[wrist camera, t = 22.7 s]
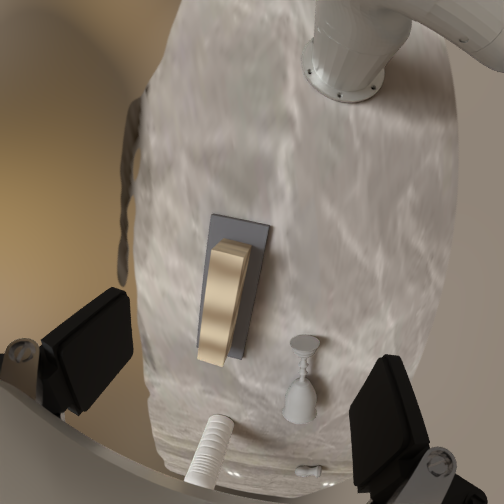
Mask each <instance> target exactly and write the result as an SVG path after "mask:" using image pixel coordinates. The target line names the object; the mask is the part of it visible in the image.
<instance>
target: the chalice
mask: <svg viewBox="0 0 504 504" xmlns="http://www.w3.org/2000/svg"><path fill="white" fill-rule="evenodd" d="M319 344H320V341H319V340H318V339H317V338H316V337H314V336H310V335H299V336H296V337H294V338H292V339H291V341H290V345H291V347H292V349H293V351H294V353H295V354H296V355H297V356H298V357H300V358H301V362H300V363H299V366H300V368H301V369H300V371H299V374H300V378H297V379H296V380H295V381H294V382H293V383H292V385H291V386H290V387H289V389H288V391H287V393H286V395H285V406H284V408H283V410H282V414H283V416H284V418H285V419H286V420H288V421H290V422H292V423H295V424H305V423H309V422H311V421H313V420H314V419H315V418H316V416H317V410H316V408H315V407H316V400H317V396H316V392H315V390H314V388H313V386H312V384H311V383H310V381H309V380H308V379H307V378H305V376H306V374H307V371H306V367H308V365H309V364H308V363H307V358H309V357H311V356H312V355H313V354H314V353H315V351H316V350H317V347H318V346H319Z"/></svg>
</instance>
